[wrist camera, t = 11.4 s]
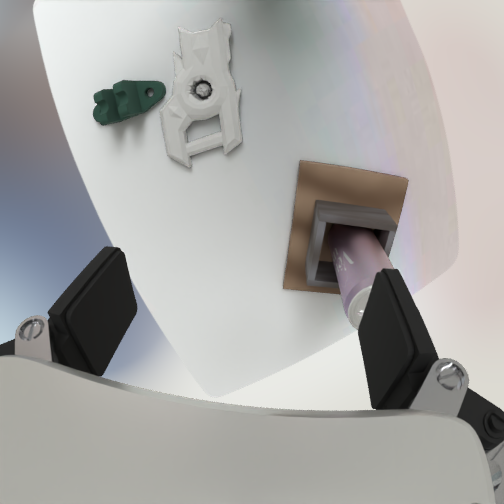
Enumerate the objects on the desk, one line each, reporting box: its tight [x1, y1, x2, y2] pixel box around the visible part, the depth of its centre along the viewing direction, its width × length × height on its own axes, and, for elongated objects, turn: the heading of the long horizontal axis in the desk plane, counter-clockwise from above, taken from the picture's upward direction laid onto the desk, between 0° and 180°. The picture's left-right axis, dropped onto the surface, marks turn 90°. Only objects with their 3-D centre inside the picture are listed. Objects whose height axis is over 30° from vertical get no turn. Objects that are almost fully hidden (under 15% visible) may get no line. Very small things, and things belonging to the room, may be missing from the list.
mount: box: [93, 80, 166, 125], centre depth 30 cm, size 11×4×5 cm, turn 102°
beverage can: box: [328, 223, 394, 330], centre depth 30 cm, size 6×6×15 cm
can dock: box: [283, 160, 409, 294], centre depth 35 cm, size 18×14×6 cm
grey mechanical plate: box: [159, 18, 242, 168], centre depth 30 cm, size 18×3×10 cm
